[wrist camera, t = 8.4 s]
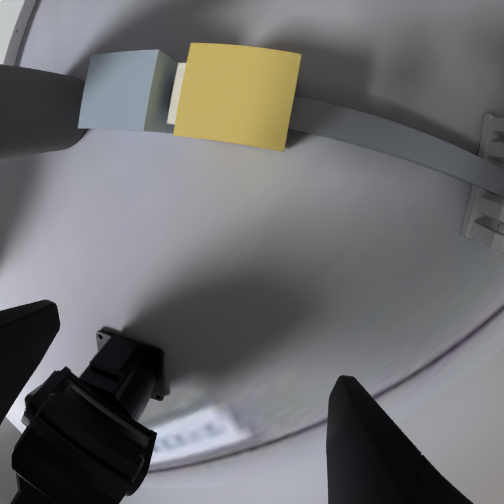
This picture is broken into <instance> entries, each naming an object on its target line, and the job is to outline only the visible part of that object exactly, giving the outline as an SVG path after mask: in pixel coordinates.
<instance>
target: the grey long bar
mask: <svg viewBox="0 0 504 504" xmlns="http://www.w3.org/2000/svg"><path fill="white" fill-rule="evenodd" d="M185 67H186V63H178V62H176V61H175V60H174V59H172V58H171V57H169V56H168V55H166V54H165V53H164V52H162V51H161V50H159V49H157V50H136V51H123V52H112V53H103V54H95V55H91V58H90V62H89V67H88V71H87V76H86V81H85V86H84V92H83V97H82V103H81V109H80V116H79V124H78V128H88V129H120V130H138V131H152V132H164V133H174V126H175V120H176V114H177V108H178V103H179V97H180V92H181V87H182V82H183V77H184V72H185ZM288 129H291V130H296V131H301V132H305V133H310V134H315V135H319V136H323V137H328V138H332V139H336V140H340V141H344V142H347V143H351V144H355V145H359V146H362V147H366V148H369V149H373V150H376V151H380V152H383V153H386V154H389V155H393V156H396V157H399V158H402V159H405V160H408V161H411V162H414V163H417V164H420V165H422V166H425V167H428V168H431V169H433V170H436V171H439V172H441V173H444V174H446V175H449V176H452V177H454V178H457V179H459V180H461V181H464V182H466V183H469V184H471V185H474V186H477V187H480V188H482V189H484V190H486V191H489V192H491V193H493V194H495V195H497V196H499V197H501V198H503V199H504V170H503V169H502V168H500V167H498V166H496V165H494V164H492V163H490V162H488V161H486V160H484V159H482V158H480V157H478V156H476V155H474V154H472V153H470V152H468V151H466V150H464V149H461V148H459V147H457V146H455V145H452V144H450V143H448V142H446V141H443V140H441V139H438V138H436V137H433V136H431V135H428V134H426V133H423V132H421V131H418V130H415V129H413V128H410V127H407V126H404V125H401V124H399V123H396V122H393V121H390V120H387V119H384V118H380V117H377V116H374V115H371V114H367V113H364V112H360V111H357V110H353V109H350V108H346V107H342V106H338V105H334V104H330V103H326V102H322V101H317V100H313V99H308V98H303V97H299V96H294V101H293V106H292V111H291V117H290V122H289V128H288Z"/></svg>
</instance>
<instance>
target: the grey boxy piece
mask: <svg viewBox="0 0 504 504" xmlns="http://www.w3.org/2000/svg"><path fill="white" fill-rule="evenodd" d="M478 157H480V158H482V159H484V160H486V161H488V162H490V163H492V164H494V165H496V166H498V167H500V168H502V169H503V170H504V117H500V118H496V117H495V116H493V115H491V114H484V116H483V125H482V133H481V140H480V147H479V153H478ZM499 221H501V222H503V223H504V199H503V198H501V197H499V196H497V195H495V194H493V193H491V192H489V191H486V190H484V189H482V188H480V187H477V186H474V185H472V188H471V193H470V197H469V201H468V205H467V209H466V212H465V216H464V220H463V223H462V227H461V230H460V233H459V234H461V235H463V236H464V237H467V238H470V239H473V240H476V241H479V242H481V243H483V244H484V245H486V246H488V247H489V248H491V249H494V250H497V251H500V252H503V253H504V234H502V233H500V232H498V231H497V228H498V224H499Z"/></svg>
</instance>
